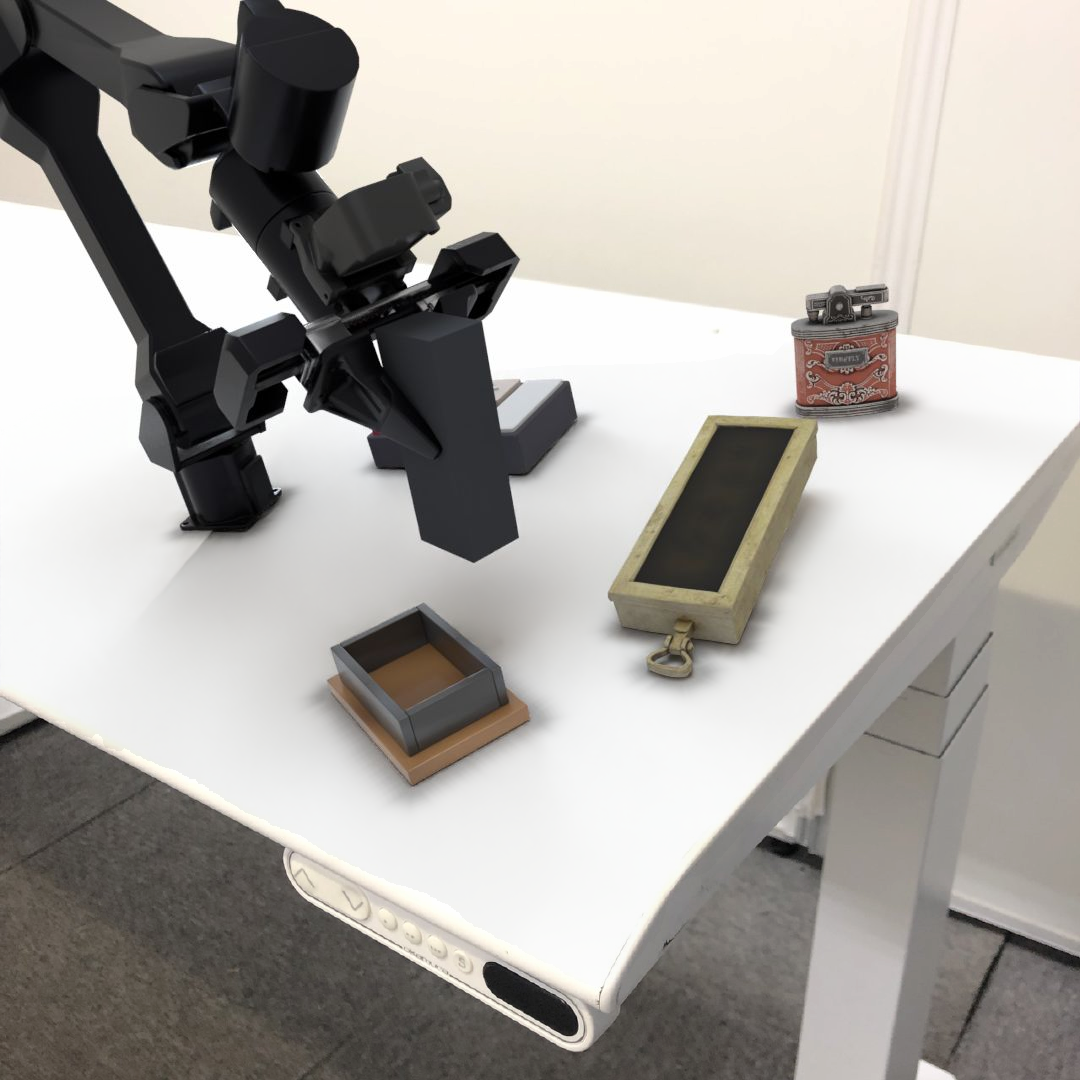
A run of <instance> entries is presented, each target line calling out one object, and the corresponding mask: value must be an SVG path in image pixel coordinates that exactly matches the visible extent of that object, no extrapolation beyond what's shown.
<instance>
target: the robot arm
mask: <svg viewBox="0 0 1080 1080" xmlns="http://www.w3.org/2000/svg"><path fill="white" fill-rule="evenodd" d="M236 18H237V19H236V28H237V29H236V32H237V33H236V34H237V35H236V41H235V43H232V42H227V41H224V40H219V39H216V38H212V37H192V36H188V37H187V36H183V37H182V36H174V35H170V34H166V33H164V32H162V31H160V30H158V29H157V28H155V27H153V26H151V25H150V24H148V23H147V22H144V21H143V20H142V19H140V18H138V17H136V16H135V15H133V14H132V13H129V12H128V11H126V10H124V9H123V8H121V7H120V6H118V5H115V4H114V3H113V2H111V1H108V0H0V140H1V141H3V142H4V143H6V144H7V145H9V146H10V147H11V148H13V149H15V150H16V151H17V152H19V153H20V154H22V155H23V156H25V157H27V158H28V159H30V161H33V162H34V163H36V164H37V165H38V166H39V167H40V168H41V171H43V173H44V175H45V177H46V179H47V181H48V183H49V184H50V185H51V188H52V190H53V192H54V194H55V195H56V197H57V199H58V201H59V204H61V205H60V206H62V208H63V210H64V212H65V214H66V216H67V218H68V219H69V221H70V224H71V225H72V228H73V229H74V230H75V232H76V234H77V236H78V238H79V240H80V241H81V243H82V246H83V247H84V250H85V251H86V253H87V254H88V256H89V258H90V260H91V262H92V264H93V266H94V268H95V269H96V272H97V273H98V276H99V277H100V279H101V281H102V283H103V284H104V286H105V288H106V289H107V291H108V294H109V295H110V297H111V299H112V300H113V303H114V304H115V307H116V308H117V310H118V312H119V314H120V316H121V318H122V319H123V321H124V323H125V325H126V326H127V329H128V330H129V332H130V334H131V336H132V338H133V340H134V342H135V344H136V356H135V357H136V360H135V373H134V375H135V376H134V386H135V389H136V390H137V393H138V395H139V397H140V399H141V403H142V404H141V412H140V418H139V419H140V421H139V428H138V429H139V430H138V440H139V443H140V445H141V446H142V449H143V450H144V452H145V454H146V456H147V458H148V460H149V462H150V463H151V464H154V465H156V466H159V467H161V468H163V469H165V470H167V471H170V472H172V473H173V476H174V478H175V481H176V484H177V486H178V489H179V491H180V494H181V496H182V500H183V502H184V504H185V507H186V509H187V512H188V516H187V517H186V519H184V520H183V521H182V522H181V523H180V524H179V528H180V531H182V532H216V531H217V532H224V531H226V532H227V531H228V532H230V531H231V532H232V531H233V532H235V531H237V532H238V531H239V532H240V531H246V530H248V529H249V528H250V527H251V526H252V525H253V524H254V523H255V522H256V521H257V520H258V519H259V518H260V517H261V516H262V515H263V514H264V513H265V512H266V511H267V510H268V509H270V507H271V506H272V505H273V504H274V503H275V502H276V501H277V500H278V499H279V498H280V497H281V496H282V495H283V491H282V488H281V487H273V485H272V482H271V479H270V476H269V474H268V470H267V468H266V465H265V462H264V459H263V456H262V455H261V454H259V453H257V450H256V447H255V444H254V441H253V438H252V437H253V436H255V435H258V434H262V433H264V432H267V426H266V425H267V423H266V421H267V420H270V419H272V418H274V417H276V416H278V415H281V414H282V413H284V410H285V407H286V404H287V398H288V395H289V388H287V387H286V385H285V384H284V383H283V381H286V380H288V379H291V378H293V377H295V379H296V380H297V381H298V382H299V384H301V386H302V387H303V388H304V390H305V391H306V395H305V397H304V401H303V404H302V407H303V408H304V410H305V411H306V412H307V413H308V414H314V413H317V412H319V411H325V412H327V413H330V414H332V415H335V416H337V417H340V418H342V419H344V420H348V421H350V422H353V423H356V424H358V425H360V426H363V427H365V428H367V429H369V430H371V431H372V430H373V431H375V432H377V433H380V434H382V435H384V436H386V437H387V438H389V439H391V440H393V441H395V442H397V443H399V444H401V445H403V446H405V447H407V448H409V449H411V450H413V451H415V452H417V453H419V454H421V455H423V456H425V457H427V458H429V459H431V460H435V459H437V458H438V457H439V456H440V454H441V453H442V450H443V449H442V446H441V444H440V442H439V441H438V439H437V438H436V436H435V434H434V433H433V431H432V430H431V428H430V427H429V425H428V424H427V423H426V421H425V420H424V419H423V418H422V416H421V415H420V414H419V413H418V411H417V410H416V409H415V408H414V406H413V405H412V404H411V403H410V401H409V400H408V399H407V398H406V396H405V395H404V394H403V393H402V391H401V390H400V389H399V388H398V386H397V385H396V384H395V383H394V381H393V380H392V379H391V378H390V376H389V375H388V374H387V373H386V372H385V370H384V369H383V367H382V362H381V359H380V358H379V354H378V353H377V352H378V351H377V349H376V347H375V343H374V341H377V340H376V335H375V331H374V329H376V328H379V327H382V326H384V325H387V324H390V323H392V322H395V321H398V320H400V319H403V318H406V317H408V316H411V315H414V314H417V313H419V312H422V311H431V312H436V313H442V314H447V315H452V316H458V317H463V318H469V319H474V320H480V321H482V322H483V320H485V319H486V318H487V317H488V316H489V315H490V314H491V313H493V311H494V309H495V308H496V306H497V304H498V302H499V300H500V298H501V296H502V294H503V293H504V291H505V289H506V287H507V285H508V283H509V281H510V280H511V277H512V276H513V274H514V272H515V270H516V269H517V266H518V265H519V263H520V261H521V258H520V257H519V256H518V254H517V253H516V252H515V251H514V249H513V248H512V247H511V245H510V244H509V243H508V242H507V240H506V239H504V237H502V235H501V234H500V233H499V232H495V231H493V232H492V231H481V232H479V233H477V234H474V235H472V236H470V237H469V236H468V237H467V238H464V239H462V240H459V241H456V242H454V243H451V244H449V245H446V246H444V247H441V248H440V250H439V253H438V255H437V257H436V260H435V262H434V264H433V266H432V268H431V271H430V273H429V275H428V277H427V278H426V279H425V280H423V281H420V282H418V283H415V284H412V285H411V286H409V287H408V285H407V283H406V281H404V279H405V277H406V275H408V274H410V273H412V272H413V271H414V267H415V265H416V263H417V261H418V257H417V256H416V254H415V253H414V252H413V251H412V250H411V249H412V248H413V247H415V246H416V245H417V244H418V243H420V242H421V241H422V240H423V239H425V238H426V237H427V236H435V234H437V233H438V232H439V231H441V226H440V224H439V222H438V220H440V219H441V218H443V216H445V215H447V214H448V212H450V211H451V210H452V206H453V198H452V195H451V193H450V190H449V189H448V187H447V185H446V182H445V181H444V178H443V177H442V176H441V174H440V173H438V172H437V170H435V169H434V167H433V166H431V164H430V163H429V161H427V160H426V159H425V158H424V157H423V156H419V157H416V158H413V159H410V160H407V161H406V160H405V161H403V162H401V163H397V165H396V167H395V169H396V171H392V172H390V173H388V174H387V175H386V176H385V178H384V179H381V180H379V181H376V182H373V183H370V184H367V185H364V186H360V187H358V188H355V189H352V190H350V191H349V192H347V193H344V194H343V195H342V196H340V197H338V195H337V194H336V193H335V192H334V190H332V188H331V187H330V186H329V185H328V183H327V181H325V179H324V178H323V177H322V176H321V174H320V173H319V172H318V170H320V169H321V168H323V167H325V166H326V165H328V164H329V163H330V161H332V160H333V158H334V156H335V154H336V151H337V149H338V145H339V142H340V138H341V134H342V130H343V127H344V123H345V119H346V117H347V113H348V109H349V105H350V102H351V99H352V95H353V91H354V88H355V84H356V80H357V77H358V73H359V70H360V55H359V52H358V50H357V46H356V44H355V43H354V41H353V40H352V39H351V37H350V36H349V34H348V33H347V32H346V31H345V30H344V29H342V28H341V27H339V26H338V27H337V26H334V25H333V24H332V23H330V22H329V21H326V20H325V19H323V18H321V17H319V16H317V15H314V14H311V13H309V12H306V11H304V10H299V9H294V8H289V7H285V5H284V4H283V3H282V2H281V1H280V0H239V4H238V12H237V17H236ZM101 92H103V93H105V94H106V95H108V96H109V97H111V98H112V99H114V100H115V101H117V102H118V103H120V104H121V105H122V106H123V107H124V108H125V109H126V111H127V116H128V121H129V125H130V131H131V135H132V136H133V137H134V139H135V140H136V141H138V142H139V144H141V145H142V146H143V147H144V149H146V150H147V151H148V152H149V153H150V154H151V155H152V156H153V157H154V158H156V159H157V161H159V162H160V163H161V164H163V165H164V166H165V167H167V168H168V169H171V170H173V171H178V170H184V169H186V168H190V167H193V166H197V165H200V164H204V163H208V162H211V161H214V162H213V165H212V167H211V173H210V180H209V186H208V194H209V196H210V198H211V200H210V201H211V202H210V207H209V215H210V219H211V223H212V226H213V228H214V229H215V231H218V232H221V231H224V230H227V229H230V228H234V229H235V230H236V232H237V233H238V234H239V236H240V237H241V238H242V240H243V241H244V242H245V243H246V244H247V246H248V247H249V248H250V250H251V251H252V252H253V254H254V255H255V256H256V258H257V259H258V261H260V263H261V264H262V265H263V267H264V268H265V269H266V270H267V272H268V274H269V277H268V281H267V286H266V290H267V291H268V292H269V294H270V295H271V296H272V297H273V299H274V300H275V302H279V301H282V300H285V299H289V300H290V302H291V303H292V304H293V306H294V307H295V308H296V309H297V311H298V313H299V314H300V315H301V316H302V317H303V319H304V320H305V321H306V323H305V324H303V323H302V321H301V320H300V319H299V318H298V316H297V315H296V314H295V313H290V312H286V311H280V312H278V313H274V314H273V315H270V316H268V317H267V316H266V317H265V318H262V319H259V320H257V321H255V322H252V323H249V324H247V325H245V326H242V327H239V328H237V329H235V330H232V331H230V332H229V331H228V330H227V329H225V328H224V327H223V326H219V327H216V328H212V327H211V326H210V325H208V324H206V323H205V322H203V321H202V320H200V319H199V318H197V317H195V316H194V313H193V312H192V311H191V309H190V307H189V305H188V303H187V302H186V299H185V297H184V295H183V293H182V291H181V290H180V288H179V285H178V284H177V282H176V280H175V277H174V276H173V275H172V273H171V271H170V269H169V267H168V264H167V263H166V261H165V259H164V258H163V255H162V253H161V252H160V250H159V248H158V245H157V244H156V242H155V240H154V238H153V236H152V235H151V233H150V230H149V229H148V227H147V225H146V223H145V222H144V219H143V217H142V216H141V214H140V212H139V210H138V207H137V206H136V204H135V202H134V200H133V199H132V197H131V195H130V193H129V191H128V189H127V187H126V185H125V183H124V181H123V179H122V178H121V176H120V174H119V172H118V170H117V167H116V166H115V163H113V161H112V159H111V157H110V155H109V153H108V151H107V149H106V148H105V145H104V144H103V142H102V139H101V137H100V135H99V128H100V127H99V126H100V125H99V124H100V113H101V112H100V110H101V96H102V95H101V94H102V93H101Z"/></svg>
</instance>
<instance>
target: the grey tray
mask: <svg viewBox="0 0 1080 1080" xmlns="http://www.w3.org/2000/svg"><path fill="white" fill-rule="evenodd" d="M329 649H330V652H331V655H332V658H333V661H334V664H335V667H336V670H337V674H335V675H333V676H331V677H329V678H327V679H326V682H327V685H328V689H329V691H330V693H331V694H332V695H333V696H334V698H335V699H336V700H337V701H338V702H339V704H340V705H341V706H342V707H343V708H344V709H345V710H346V711H347V713H348V714H349V715H350V716H351V717H352V718H353V720H354V721H355V722H357V724H358V725H359V726H360V728H361V729H362V730H363V731H364V732H365V733H366V735H367V736H368V737H369V738H370V740H372V741H373V743H374V744H375V745H376V746H377V747H378V748H379V750H380V751H381V752H382V753H383V754H384V755H385V756H386V757H387V759H388V760H389V761H390V763H392V765H393V766H394V767H395V768H396V769H397V770H398V771H399V773H400V774H401V775H402V776H403V777H404V778H405V780H406V781H407V782H408V783H409V784H410V785H411V786H415V785H416V784H418V783H420V782H421V781H423V780H425V779H427V778H428V777H431V776H432V775H434V774H436V773H437V772H439V771H441V770H443V769H444V768H446V767H448V766H450V765H451V764H453V763H455V762H457V761H458V760H460V759H462V758H464V757H465V756H467V755H469V754H471V753H473V752H475V751H476V750H479V749H480V748H481V747H483V746H485V745H487V744H489V743H490V742H492V741H493V740H496V739H497V738H499V737H501V736H502V735H504V734H506V733H508V732H510V731H512V730H513V729H515V728H517V727H518V726H520V725H522V724H524V723H526V722H527V721H529V720H531V716H530V712H529V706H528V705H527V704H526V703H525V702H524V701H523V700H522V699H520V698H519V697H518V696H517V695H516V694H515V693H514V692H512V691H511V690H510V689H509V688H508V687H507V686H506V683H505V678H504V674H503V669H502V666H501V665H499V664H498V663H497V662H496V661H494V660H493V659H492V658H491V657H490V656H489V655H488V654H487V653H486V652H484V651H483V650H481V649H480V648H479V647H478V646H477V645H475V644H474V643H473V642H472V641H471V640H469V639H468V638H467V637H466V636H465V635H464V634H462V633H461V632H459V630H457V628H455V627H454V626H453V625H451V624H450V623H449V622H448V621H446V620H445V619H444V618H443V617H442V616H441V615H439V614H438V613H437V612H436V611H435V610H433V608H431V607H430V606H428V605H427V603H425V602H422V603H419V604H417V605H415V606H413V607H411V608H409V609H407V610H404V611H403V612H400V613H399V614H397V615H394V616H392V617H390V618H388V619H386V620H384V621H382V622H380V623H377V624H376V625H373V626H372V627H370V628H367V629H366V630H364V631H362V632H359V633H357V634H356V635H353V636H351V637H349V638H347V639H345V640H343V641H341V642H339V643H337V644H335V645H333V646H330V648H329Z"/></svg>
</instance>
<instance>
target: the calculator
mask: <svg viewBox="0 0 1080 1080" xmlns="http://www.w3.org/2000/svg"><path fill="white" fill-rule="evenodd" d="M492 382H493V388H494V394H495V400H496V406H497V411H498V417H499V423H500V429H501V435H502V441H503V446H504V452H505V458H506V464H507V470H508V475H523V474H526V473H528V472H529V471H530V470H531V469H532V468H533V467H534V466H535V465H536V464H537V463H538V462H539V460H540V459H541V458H542V457H543V456H544V455H545V454H546V453H547V452H548V451H549V450H550V448H552V446H553V445H554V444H555V443H556V442H557V441H558V440H559V439H560V438H561V436H562V435H563V434H564V433H565V432H566V431H567V430H568V429H569V428H570V427H571V426H572V424H573V423H575V421H576V420H577V419H578V412H577V409H576V404H575V403H576V402H575V400H574V395H573V391H572V386H571V382H570V381H569V380H563V378H549V379H529V380H525V381H524V382H522V381H521V379H520V378H508V379H507V378H506V379H505V378H504V379H492ZM371 431H372V432H370V433H369V434H368V435H367V436H366V440H367V444H368V447H369V450H370V453H371V455H372V460H373V462H374V464H375V467H376V468H405V465H404V461H403V456H402V452H401V447H400V444H399V443H397V442H395V441H393V440H391V439H389V438H387V437H386V436H384V435H382V434H380V433H377V432H375V431H373V430H371Z"/></svg>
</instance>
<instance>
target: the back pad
mask: <svg viewBox="0 0 1080 1080" xmlns="http://www.w3.org/2000/svg"><path fill="white" fill-rule="evenodd" d="M374 331H375V335H376V340H375V341H376V344H377V348H378V353H379V357H380V358H379V359H380V363H381V365H382V367H383V369H384V370H385V372H386V373H387V374H388V375H389V376H390V378H391V379H392V380H393V381H394V383H395V384H396V385H397V386H398V388H399V389H400V390H401V391H402V393H403V394H404V395H405V396H406V398H407V399H408V400H409V401H410V403H411V404H412V405H413V406H414V408H415V409H416V410H417V411H418V413H419V414H420V415H421V416H422V418H423V419H424V420H425V421H426V423H427V424H428V425H429V427H430V428H431V430H432V431H433V433H434V434H435V436H436V438H437V439H438V441H439V442H440V444H441V446H442V449H443V450H442V453H441V454H440V456H439V457H438V458H437V459H435V460H431V459H429V458H427V457H425V456H423V455H421V454H419V453H417V452H415V451H413V450H411V449H409V448H407V447H405V446H403V445H401V444H400V447H401V452H402V456H403V461H404V465H405V467H404V469H405V474H406V478H407V483H408V488H409V491H410V496H411V501H412V505H413V510H414V515H415V518H416V522H417V527H418V532H419V536H420V541H423V542H425V543H427V544H429V545H431V546H434V547H436V548H437V549H441V550H443V551H445V552H447V553H450V554H452V555H454V556H456V557H459V558H461V559H463V560H466V561H468V562H470V563H472V564H475V563H477V562H479V561H481V560H482V559H485V558H486V557H488V556H490V555H491V554H494V553H495V552H497V551H499V550H501V549H502V548H504V547H506V546H507V545H509V544H511V543H513V542H514V541H516V540H518V539H519V538H520V534H519V527H518V525H517V524H518V523H517V517H516V511H515V505H514V499H513V494H512V487H511V482H510V476H509V474H508V470H507V464H506V458H505V452H504V446H503V441H502V435H501V429H500V423H499V417H498V411H497V406H496V400H495V394H494V388H493V382H492V380H493V378H492V376H493V375H492V369H491V365H490V360H489V354H488V347H487V343H486V342H487V341H486V336H485V330H484V325H483V320H482V321H480V320H474V319H469V318H463V317H458V316H452V315H447V314H442V313H436V312H431V311H422V312H419V313H417V314H414V315H411V316H408V317H406V318H403V319H400V320H398V321H395V322H392V323H390V324H387V325H384V326H382V327H379V328H376V329H374Z"/></svg>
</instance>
